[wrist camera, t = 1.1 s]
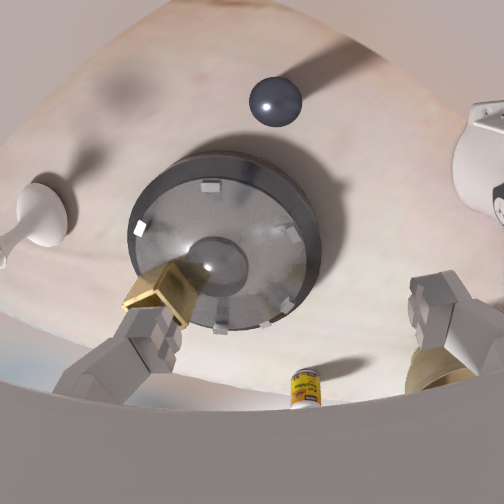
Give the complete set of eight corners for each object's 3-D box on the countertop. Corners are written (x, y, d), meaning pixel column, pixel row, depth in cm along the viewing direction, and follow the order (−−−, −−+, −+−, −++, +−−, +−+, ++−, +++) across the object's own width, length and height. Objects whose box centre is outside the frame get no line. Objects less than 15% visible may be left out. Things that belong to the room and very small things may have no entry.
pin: (285, 73, 33) (286, 68, 21) (301, 101, 34) (311, 113, 22) (255, 88, 34) (239, 92, 22) (271, 116, 36) (265, 135, 24)
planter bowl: (385, 380, 58) (394, 424, 49) (411, 323, 50) (428, 371, 40) (448, 376, 57) (462, 415, 47) (480, 322, 48) (501, 363, 39)
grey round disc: (250, 141, 33) (242, 157, 27) (332, 290, 42) (338, 328, 36) (107, 228, 41) (80, 257, 34) (196, 339, 49) (186, 374, 43)
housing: (260, 113, 36) (257, 117, 32) (346, 277, 46) (351, 296, 42) (107, 209, 44) (92, 222, 40) (202, 331, 54) (196, 350, 50)
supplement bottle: (320, 367, 57) (322, 412, 48) (319, 384, 59) (320, 427, 51) (290, 368, 57) (289, 413, 49) (291, 385, 60) (290, 428, 51)
